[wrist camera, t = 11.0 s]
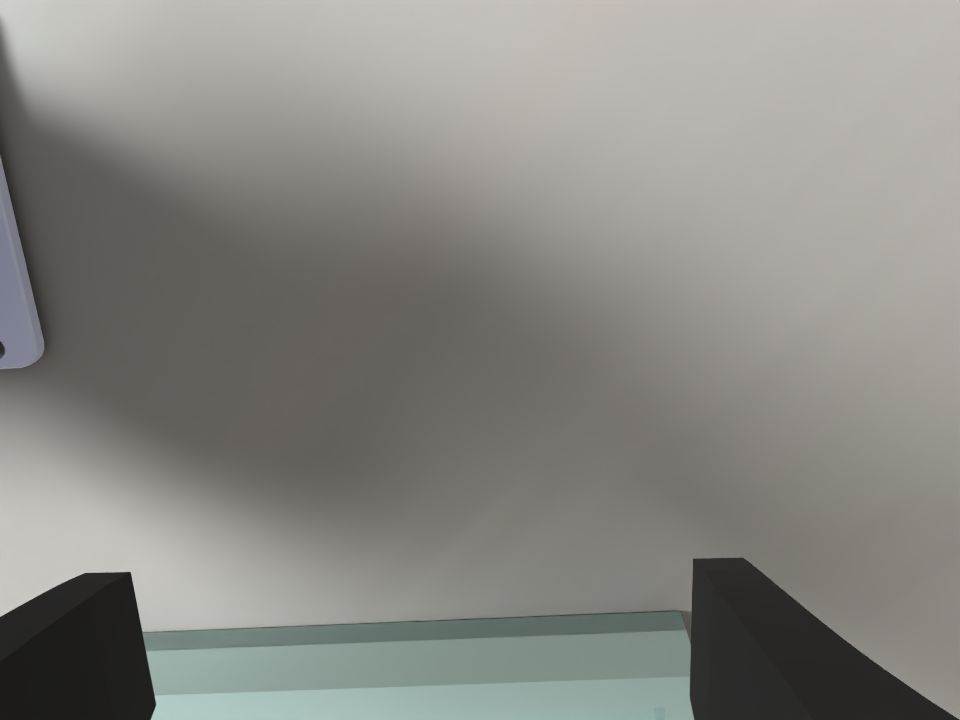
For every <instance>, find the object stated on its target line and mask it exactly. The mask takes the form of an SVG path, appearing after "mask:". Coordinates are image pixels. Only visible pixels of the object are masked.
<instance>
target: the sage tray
mask: <svg viewBox="0 0 960 720" xmlns="http://www.w3.org/2000/svg"><path fill="white" fill-rule="evenodd" d="M143 639H144V644H145V649H146V654H147V659H148V664H149V669H150V675H151V680H152V685H153V690H154V695H155V700H156V707H155V710H154V713H153V715H152V718H151V720H694V716H693V711H692V707H691V702H690V661H691V643H690V640H689V637H688V634H687V631H686V628H685V625H684V621H683V618H682V615H681V612H680V611H669V612H644V613H619V614H594V615H570V616H545V617H520V618H495V619H471V620H446V621H421V622H397V623H372V624H347V625H322V626H298V627H273V628H248V629H223V630H199V631H174V632H149V633H143Z"/></svg>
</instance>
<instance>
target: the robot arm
mask: <svg viewBox="0 0 960 720" xmlns="http://www.w3.org/2000/svg"><path fill="white" fill-rule="evenodd" d="M0 342H2V344H3V346H4V347H5V354H4V355H3V354H0V369H10V368H22V367H26V366H29V365H31V364H33V363H35V362H36V361H37V360H39V359H40V358H41V357H42V354H43V352H44V339H43V335H42V331H41V327H40V322H39V318H38V314H37V310H36V305H35V301H34V297H33V293H32V288H31V284H30V280H29V275H28V271H27V267H26V263H25V258H24V254H23V250H22V246H21V241H20V237H19V233H18V229H17V224H16V220H15V216H14V211H13V207H12V203H11V199H10V194H9V190H8V186H7V182H6V177H5V173H4V169H3V164H2V160H1V156H0ZM690 702H691V707H692V711H693V716H694V720H959V719H957V718H956V717H954V716H953V715H951V714H949V713H948V712H946V711H945V710H943V709H942V708H940V707H938V706H937V705H935V704H934V703H932V702H931V701H929V700H928V699H926V698H925V697H923V696H922V695H921V694H919V693H918V692H916V691H915V690H913V689H912V688H910V687H909V686H908V685H906V684H905V683H903V682H902V681H900V680H899V679H897V678H896V677H895V676H893V675H892V674H890V673H889V672H887V671H886V670H884V669H883V668H882V667H880V666H879V665H877V664H876V663H875V662H873V661H872V660H871V659H869V658H868V657H867V656H865V655H864V654H863V653H861V652H860V651H858V650H857V649H856V648H855V647H853V646H852V645H851V644H849V643H848V642H847V641H845V640H844V639H843V638H841V637H840V636H839V635H838V634H836V633H835V632H834V631H833V630H831V629H830V628H829V627H827V626H826V625H825V624H824V623H822V622H821V621H820V620H819V619H817V618H816V617H815V616H814V615H812V614H811V613H810V612H809V611H808V610H806V609H805V608H804V607H803V606H801V605H800V604H799V603H798V602H797V601H795V600H794V599H793V598H792V597H791V596H789V595H788V594H787V593H786V592H785V591H783V590H782V589H781V588H780V587H779V586H777V585H776V584H775V583H774V582H773V581H771V580H770V579H769V578H768V577H767V576H765V575H764V574H763V573H762V572H760V571H759V570H758V569H757V568H756V567H754V566H753V565H752V564H751V563H749V562H748V561H747V560H745V559H744V558H711V559H693V588H692V625H691V661H690ZM155 707H156V700H155V695H154V690H153V685H152V680H151V675H150V669H149V664H148V659H147V654H146V649H145V644H144V639H143V633H142V628H141V623H140V618H139V613H138V608H137V602H136V597H135V592H134V587H133V582H132V577H131V572H115V573H84V574H82V575H80V576H77V577H75V578H73V579H70V580H68V581H66V582H64V583H62V584H60V585H58V586H56V587H54V588H52V589H50V590H48V591H46V592H45V593H43V594H41V595H39V596H37V597H35V598H33V599H32V600H30V601H28V602H26V603H24V604H23V605H21V606H19V607H17V608H15V609H14V610H12V611H10V612H8V613H7V614H5V615H3V616H1V617H0V720H151V718H152V715H153V713H154V710H155Z"/></svg>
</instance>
